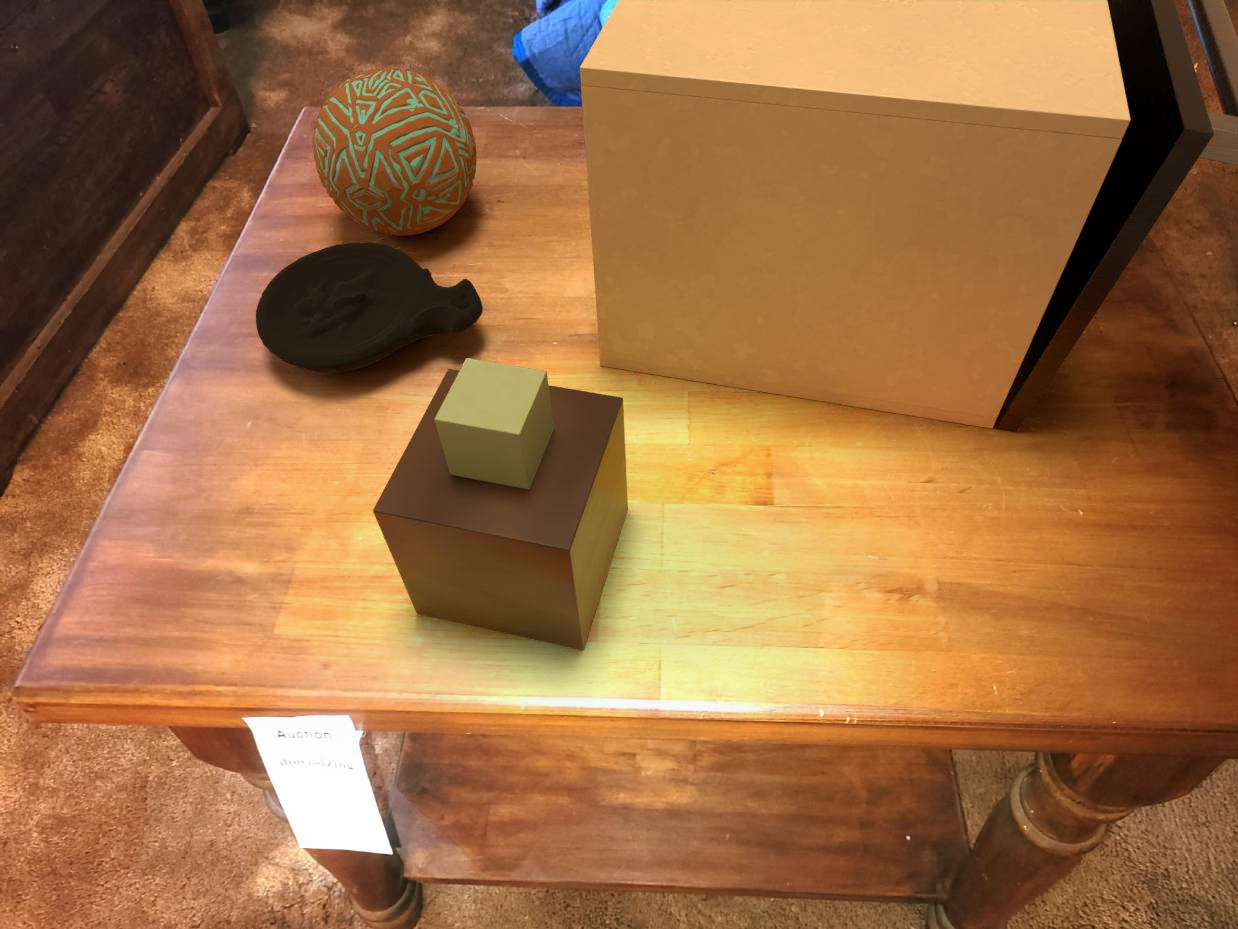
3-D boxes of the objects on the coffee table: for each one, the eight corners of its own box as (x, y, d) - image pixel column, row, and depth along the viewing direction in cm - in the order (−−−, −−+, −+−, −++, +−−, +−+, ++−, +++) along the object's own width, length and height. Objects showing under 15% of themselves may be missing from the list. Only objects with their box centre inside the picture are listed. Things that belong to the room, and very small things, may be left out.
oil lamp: (467, 408, 72) (456, 364, 68) (243, 391, 74) (220, 348, 70) (505, 290, 81) (497, 246, 78) (304, 279, 83) (287, 235, 80)
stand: (628, 508, 65) (623, 397, 56) (583, 650, 58) (569, 550, 49) (476, 479, 67) (448, 367, 58) (416, 613, 60) (371, 510, 51)
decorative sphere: (460, 275, 83) (428, 128, 71) (314, 259, 85) (260, 114, 74) (505, 185, 92) (483, 42, 81) (372, 172, 95) (332, 31, 83)
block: (554, 427, 54) (547, 370, 51) (529, 490, 51) (519, 434, 48) (479, 414, 55) (465, 357, 51) (450, 475, 52) (433, 419, 48)
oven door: (1066, 165, 92) (1213, -111, 72) (1095, 450, 68) (1329, 155, 48) (993, 151, 93) (1118, -126, 72) (996, 427, 69) (1184, 128, 48)
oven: (990, 152, 93) (1082, -131, 73) (992, 428, 69) (1131, 119, 49) (693, 121, 99) (703, -149, 79) (600, 366, 75) (579, 66, 55)
